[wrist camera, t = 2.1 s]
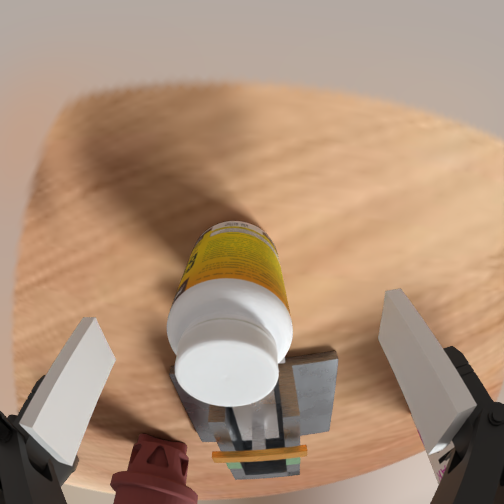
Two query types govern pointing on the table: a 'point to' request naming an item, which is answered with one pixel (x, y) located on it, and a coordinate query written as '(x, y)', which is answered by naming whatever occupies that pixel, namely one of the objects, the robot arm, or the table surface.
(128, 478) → the mechanical component
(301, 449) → the plunger
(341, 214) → the table surface
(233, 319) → the supplement bottle
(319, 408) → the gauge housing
